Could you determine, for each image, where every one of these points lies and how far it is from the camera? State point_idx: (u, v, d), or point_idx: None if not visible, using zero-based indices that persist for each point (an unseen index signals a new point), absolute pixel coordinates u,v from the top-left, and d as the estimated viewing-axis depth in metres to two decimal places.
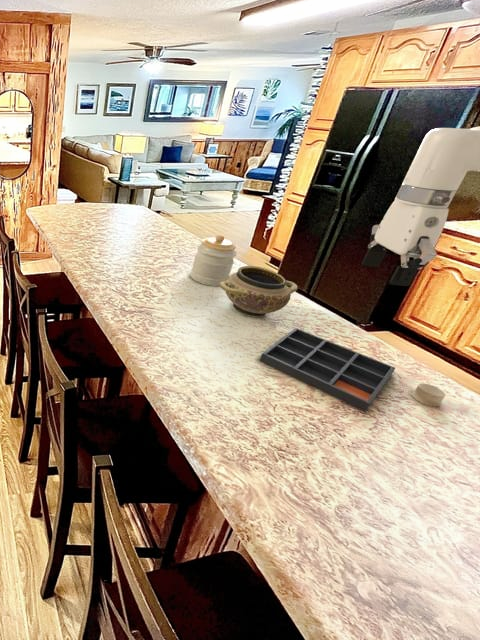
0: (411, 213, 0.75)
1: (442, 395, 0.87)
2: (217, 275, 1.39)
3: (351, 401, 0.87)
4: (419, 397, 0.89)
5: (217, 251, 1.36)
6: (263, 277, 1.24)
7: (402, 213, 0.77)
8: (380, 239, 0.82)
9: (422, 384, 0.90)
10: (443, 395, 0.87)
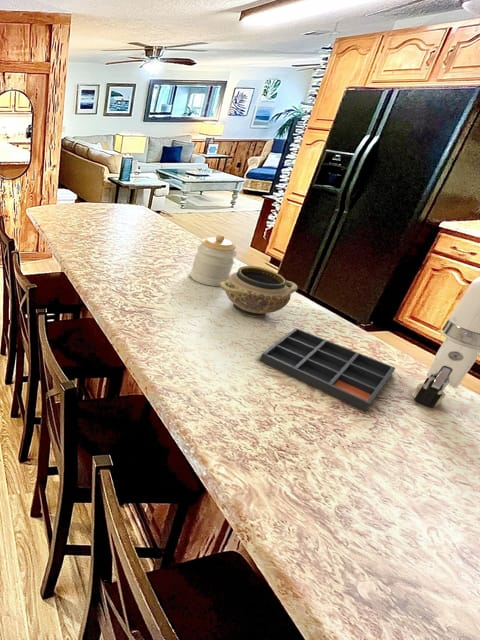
0: (443, 344, 0.83)
1: (442, 395, 0.87)
2: (217, 274, 1.39)
3: (351, 401, 0.87)
4: None
5: (217, 251, 1.36)
6: (263, 277, 1.24)
7: (443, 342, 0.85)
8: None
9: (422, 384, 0.90)
10: (443, 395, 0.87)
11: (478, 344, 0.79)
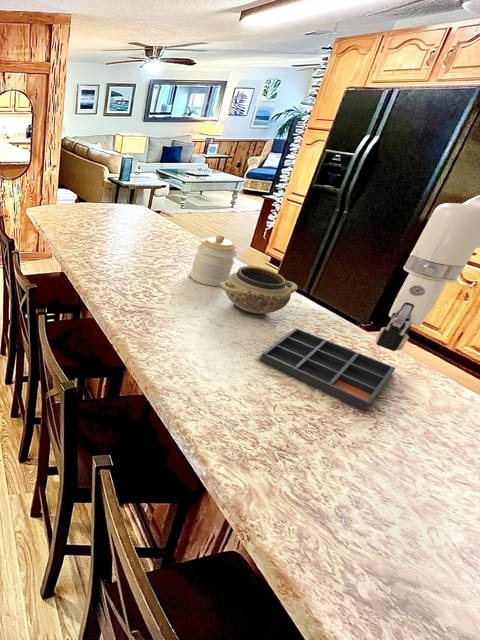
0: (405, 280, 0.78)
1: (405, 337, 0.81)
2: (217, 274, 1.39)
3: (351, 401, 0.87)
4: None
5: (217, 251, 1.36)
6: (263, 277, 1.24)
7: None
8: None
9: None
10: (406, 337, 0.81)
11: (440, 276, 0.73)
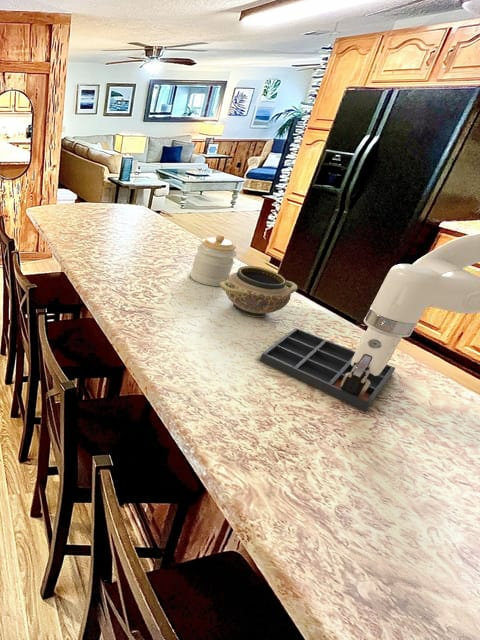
0: (365, 332, 0.83)
1: (367, 384, 0.87)
2: (217, 274, 1.39)
3: (351, 401, 0.87)
4: None
5: (217, 251, 1.36)
6: (263, 277, 1.24)
7: None
8: None
9: (349, 373, 0.90)
10: (368, 384, 0.87)
11: (395, 331, 0.79)
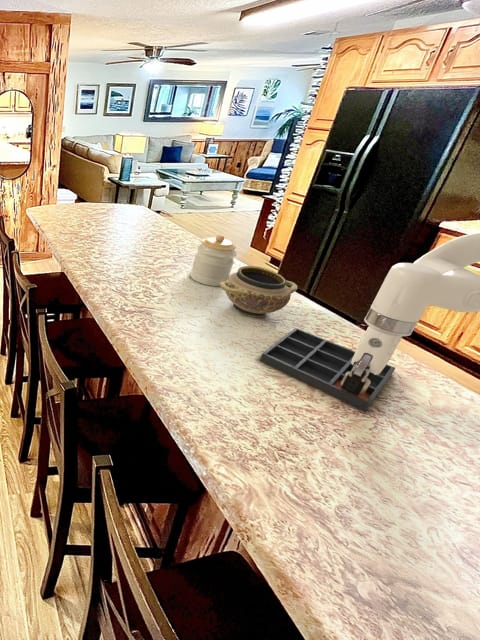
0: (366, 331, 0.83)
1: (367, 383, 0.87)
2: (217, 274, 1.39)
3: (351, 401, 0.87)
4: None
5: (217, 251, 1.36)
6: (263, 277, 1.24)
7: None
8: None
9: None
10: (368, 383, 0.87)
11: (396, 330, 0.79)
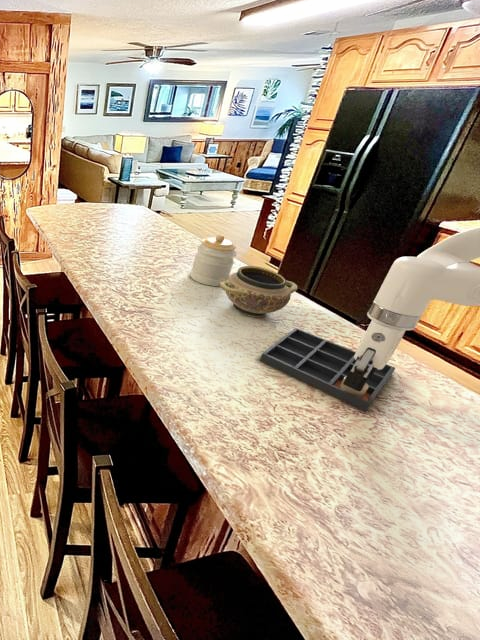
0: (369, 325, 0.83)
1: (365, 387, 0.87)
2: (217, 274, 1.39)
3: (351, 401, 0.87)
4: (344, 390, 0.90)
5: (217, 251, 1.36)
6: (263, 277, 1.24)
7: None
8: None
9: None
10: (366, 387, 0.87)
11: (399, 325, 0.78)
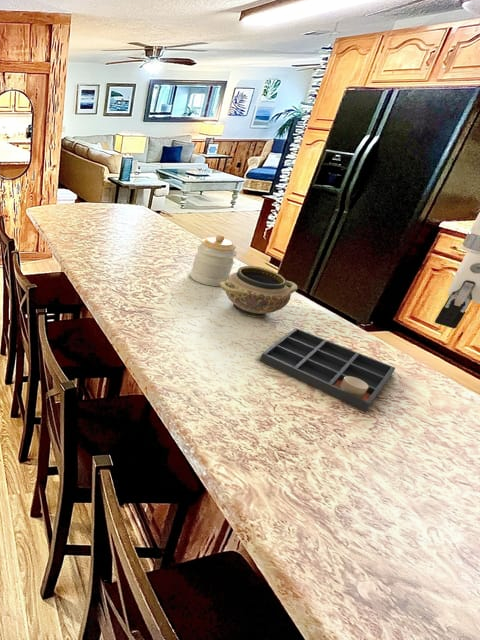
0: (464, 258, 0.79)
1: (365, 387, 0.87)
2: (217, 274, 1.39)
3: (351, 401, 0.87)
4: (344, 390, 0.90)
5: (217, 251, 1.36)
6: (263, 277, 1.24)
7: None
8: None
9: (348, 377, 0.91)
10: (366, 387, 0.87)
11: None
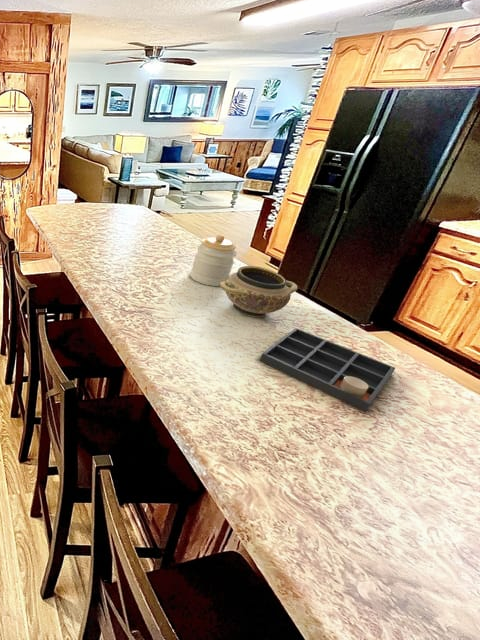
0: None
1: (365, 387, 0.87)
2: (217, 274, 1.39)
3: (351, 401, 0.87)
4: (344, 390, 0.90)
5: (217, 251, 1.36)
6: (263, 277, 1.24)
7: None
8: None
9: (348, 377, 0.91)
10: (366, 387, 0.87)
11: None
